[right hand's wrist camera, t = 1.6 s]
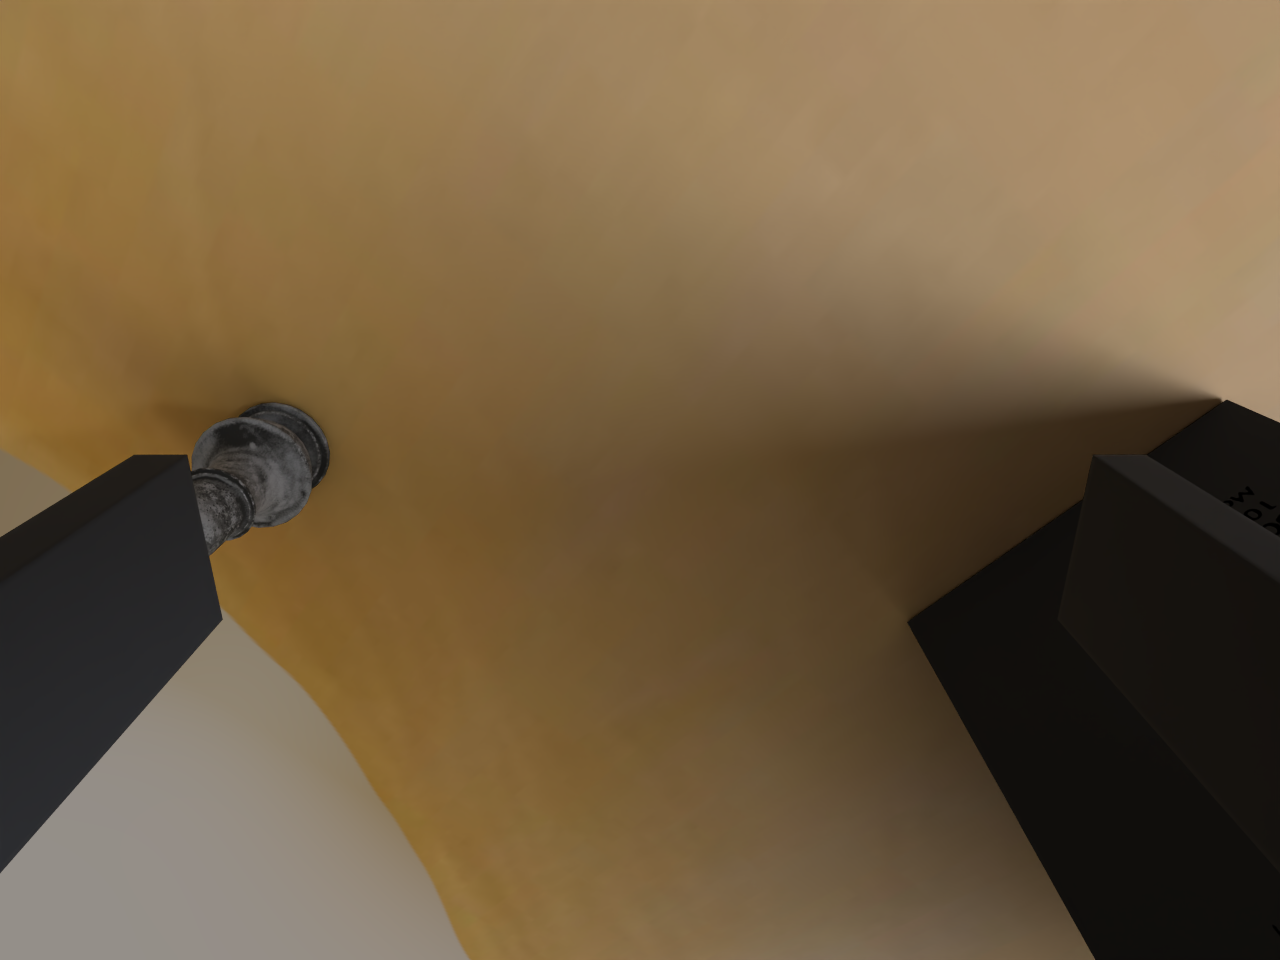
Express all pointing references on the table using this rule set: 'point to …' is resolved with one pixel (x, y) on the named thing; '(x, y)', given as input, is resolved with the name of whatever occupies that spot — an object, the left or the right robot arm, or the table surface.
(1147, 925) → the cardboard box
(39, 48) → the table surface
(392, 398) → the table surface
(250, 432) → the grey tiered upright piece
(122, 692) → the right robot arm
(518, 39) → the table surface
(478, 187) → the table surface
